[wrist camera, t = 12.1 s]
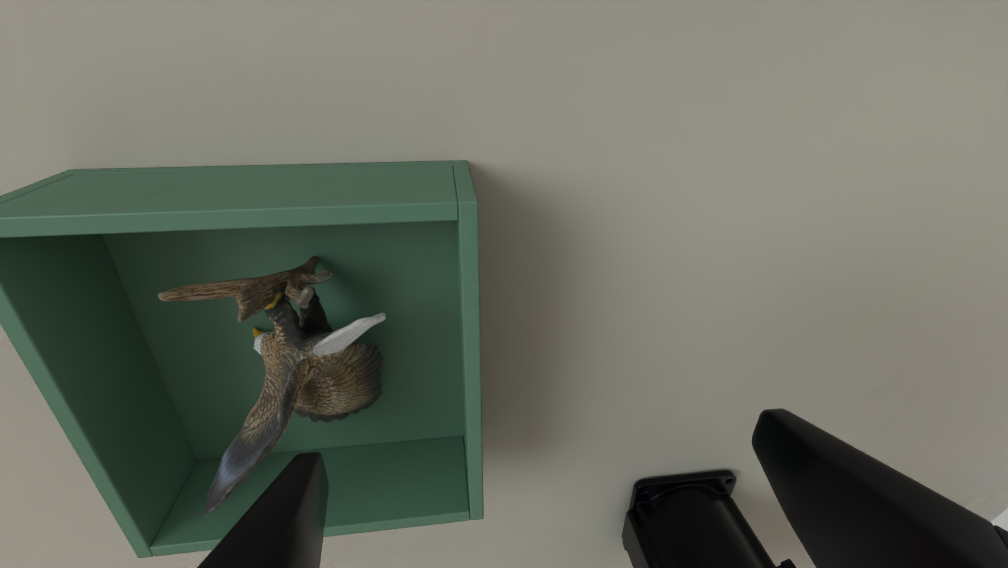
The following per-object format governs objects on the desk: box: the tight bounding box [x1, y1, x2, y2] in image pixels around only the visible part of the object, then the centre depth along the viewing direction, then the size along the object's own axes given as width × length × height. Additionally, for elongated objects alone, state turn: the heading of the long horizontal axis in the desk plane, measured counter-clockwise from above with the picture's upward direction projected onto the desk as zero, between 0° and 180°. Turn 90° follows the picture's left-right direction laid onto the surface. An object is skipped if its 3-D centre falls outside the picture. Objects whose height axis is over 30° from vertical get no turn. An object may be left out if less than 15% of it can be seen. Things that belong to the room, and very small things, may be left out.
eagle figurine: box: [158, 256, 386, 517], centre depth 18 cm, size 8×7×9 cm
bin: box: [0, 160, 484, 558], centre depth 19 cm, size 14×15×5 cm
